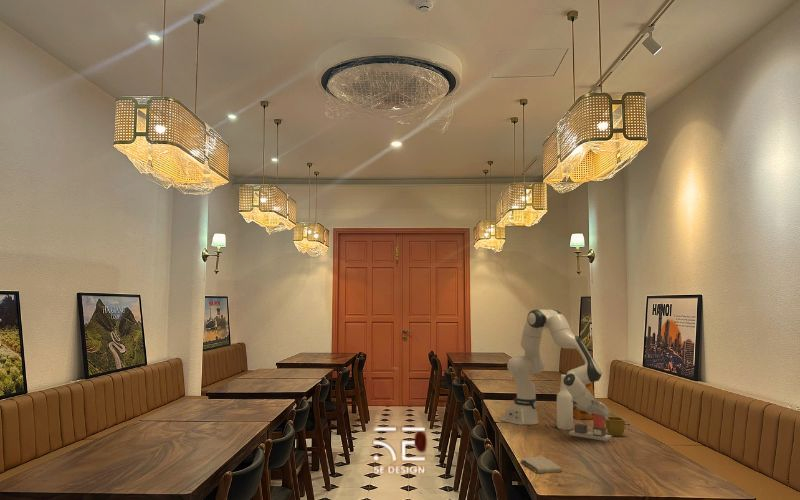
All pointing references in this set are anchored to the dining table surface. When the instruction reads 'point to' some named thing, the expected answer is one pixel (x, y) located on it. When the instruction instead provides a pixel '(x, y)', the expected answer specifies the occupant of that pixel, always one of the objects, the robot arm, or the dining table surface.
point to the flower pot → (615, 426)
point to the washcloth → (540, 464)
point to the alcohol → (564, 408)
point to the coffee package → (579, 413)
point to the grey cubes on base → (596, 434)
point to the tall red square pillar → (598, 421)
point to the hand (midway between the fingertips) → (599, 417)
